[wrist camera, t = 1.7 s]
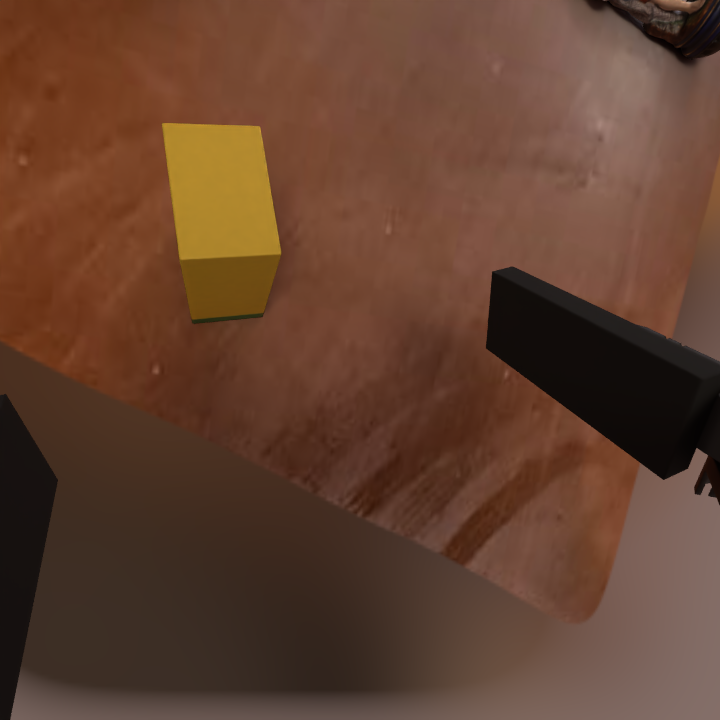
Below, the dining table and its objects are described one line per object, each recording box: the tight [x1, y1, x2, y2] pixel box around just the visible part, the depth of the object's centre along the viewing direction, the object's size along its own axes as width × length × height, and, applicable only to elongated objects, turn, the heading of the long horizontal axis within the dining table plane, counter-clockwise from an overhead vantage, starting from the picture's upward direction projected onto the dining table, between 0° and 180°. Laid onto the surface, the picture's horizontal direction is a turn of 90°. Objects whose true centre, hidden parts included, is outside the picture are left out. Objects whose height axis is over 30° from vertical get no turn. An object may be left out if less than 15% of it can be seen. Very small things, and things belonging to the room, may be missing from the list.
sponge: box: [162, 123, 281, 324], centre depth 23 cm, size 4×6×9 cm, turn 11°
